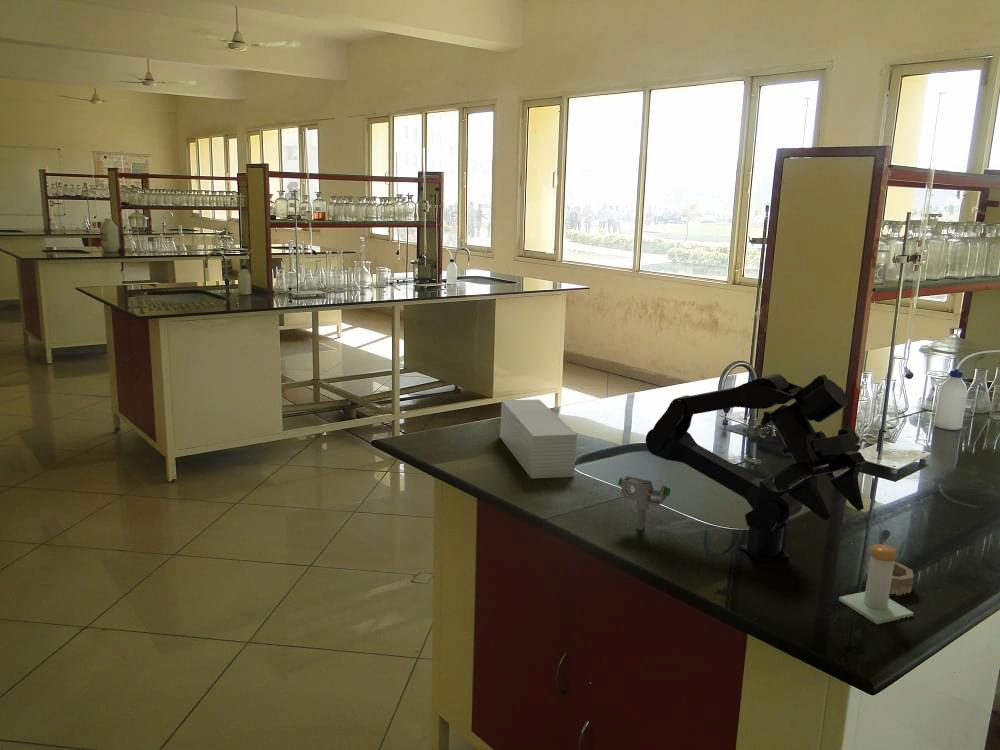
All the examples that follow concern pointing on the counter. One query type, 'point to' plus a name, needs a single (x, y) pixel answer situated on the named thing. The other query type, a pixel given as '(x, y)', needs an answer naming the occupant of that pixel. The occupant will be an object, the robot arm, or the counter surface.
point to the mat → (875, 615)
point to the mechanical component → (642, 495)
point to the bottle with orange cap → (879, 576)
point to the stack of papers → (538, 438)
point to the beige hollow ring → (898, 579)
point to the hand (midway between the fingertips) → (845, 514)
